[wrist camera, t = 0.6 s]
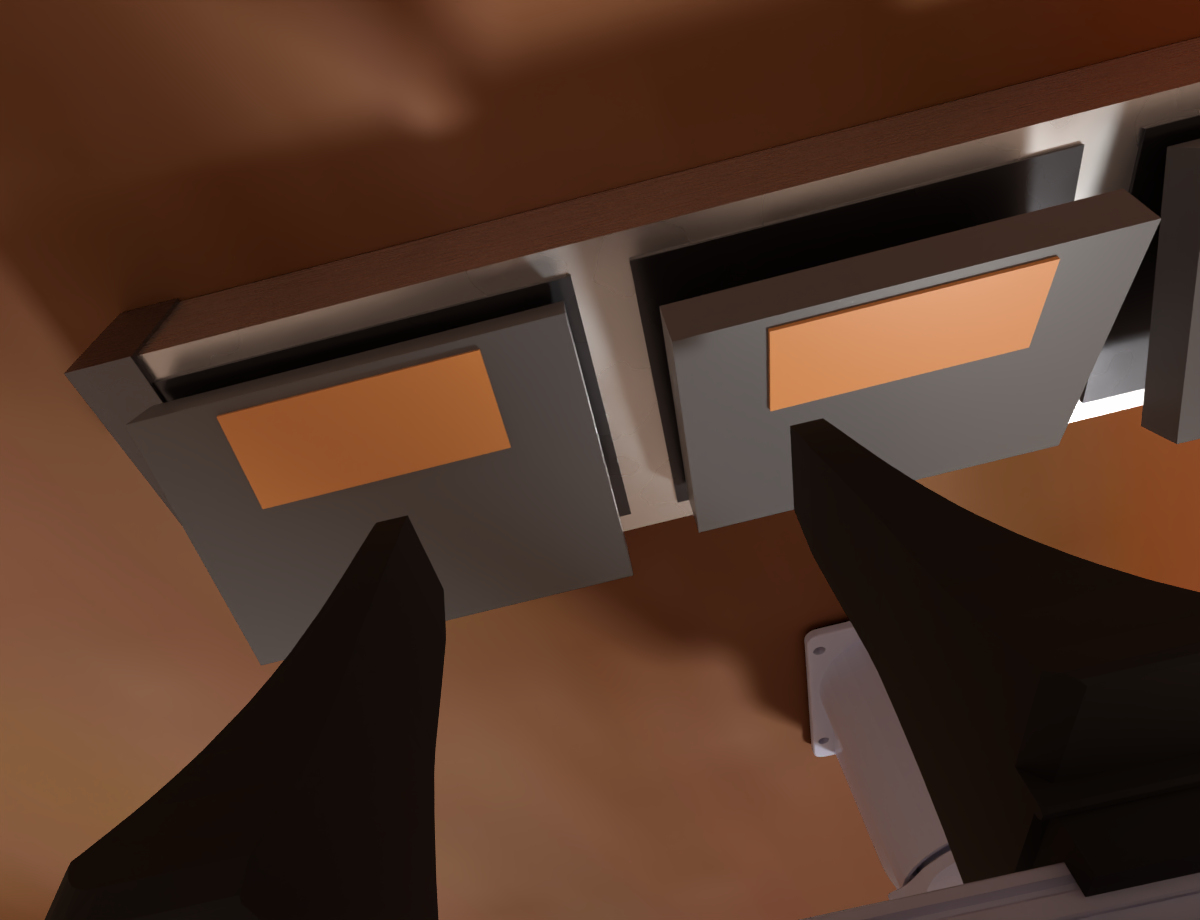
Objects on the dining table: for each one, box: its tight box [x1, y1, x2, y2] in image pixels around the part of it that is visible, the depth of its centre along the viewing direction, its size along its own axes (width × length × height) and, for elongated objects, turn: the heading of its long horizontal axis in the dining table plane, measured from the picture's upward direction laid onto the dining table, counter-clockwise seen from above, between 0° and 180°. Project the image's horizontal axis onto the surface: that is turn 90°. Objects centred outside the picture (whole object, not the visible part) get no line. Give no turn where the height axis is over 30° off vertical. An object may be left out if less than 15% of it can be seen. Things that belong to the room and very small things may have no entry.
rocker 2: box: [659, 188, 1161, 532], centre depth 18 cm, size 7×10×2 cm
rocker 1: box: [126, 301, 633, 665], centre depth 18 cm, size 7×10×2 cm
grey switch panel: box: [64, 37, 1200, 532], centre depth 20 cm, size 9×37×3 cm, turn 102°
